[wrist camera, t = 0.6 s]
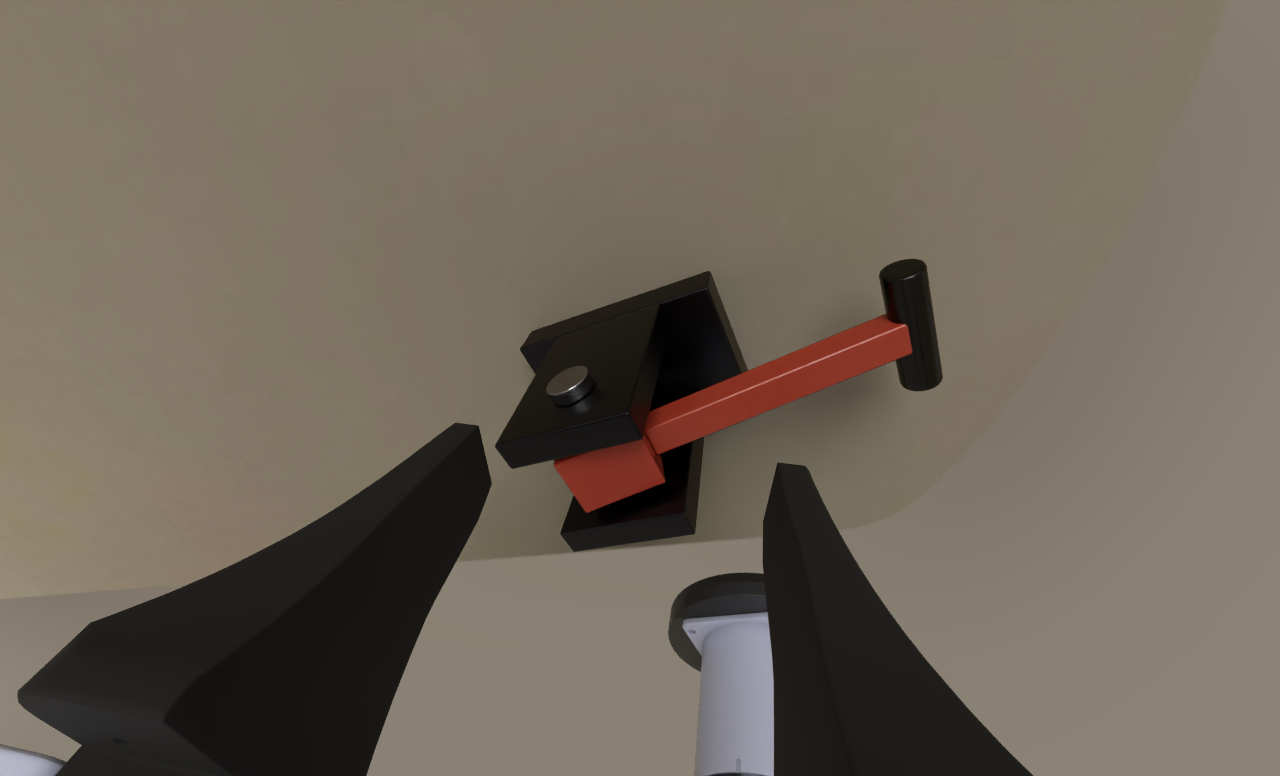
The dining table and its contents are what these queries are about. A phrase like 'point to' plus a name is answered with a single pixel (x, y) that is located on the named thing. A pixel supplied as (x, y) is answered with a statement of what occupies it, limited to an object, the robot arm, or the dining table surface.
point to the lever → (771, 389)
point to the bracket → (624, 400)
